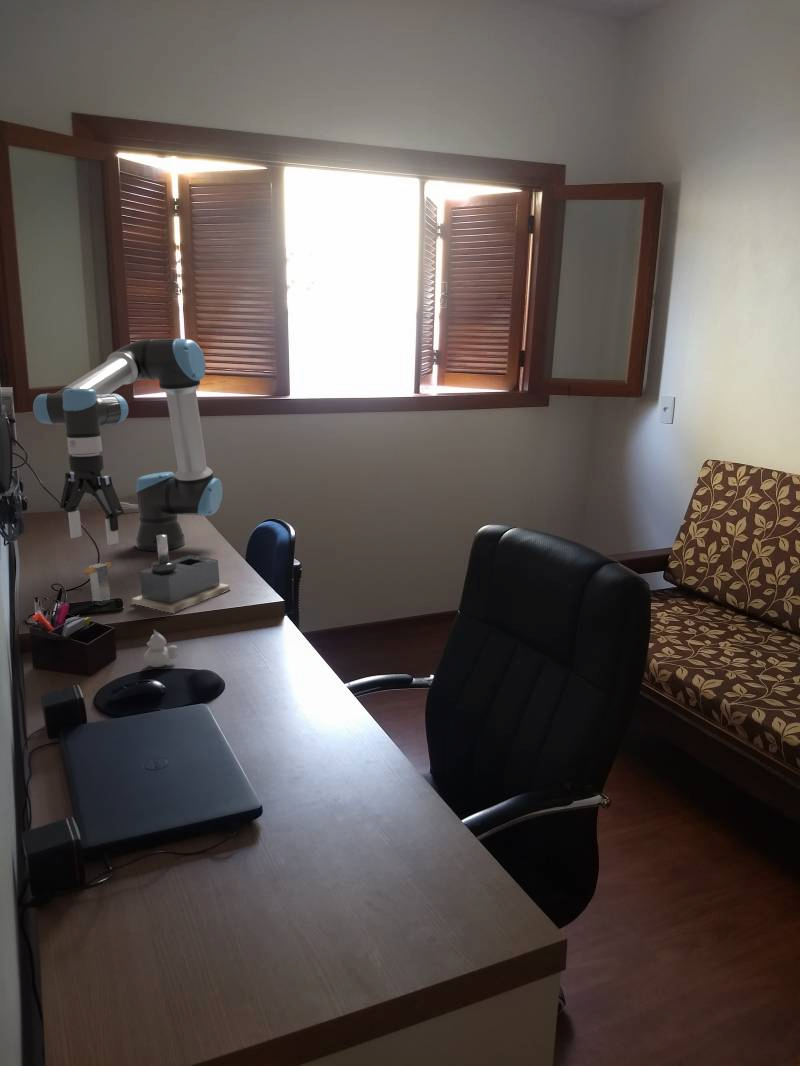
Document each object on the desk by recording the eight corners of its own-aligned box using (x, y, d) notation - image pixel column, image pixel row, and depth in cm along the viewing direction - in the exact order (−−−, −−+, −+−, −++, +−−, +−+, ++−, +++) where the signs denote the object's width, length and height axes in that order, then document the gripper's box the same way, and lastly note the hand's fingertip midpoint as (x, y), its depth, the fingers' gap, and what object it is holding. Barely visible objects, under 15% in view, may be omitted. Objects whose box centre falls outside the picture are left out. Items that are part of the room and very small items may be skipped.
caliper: (110, 516, 288) (108, 499, 287) (109, 515, 289) (107, 499, 288) (165, 510, 297) (164, 494, 296) (164, 509, 298) (163, 493, 297)
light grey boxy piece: (109, 598, 196) (105, 561, 193) (117, 600, 194) (113, 562, 192) (86, 606, 190) (81, 568, 187) (94, 608, 188) (89, 570, 186)
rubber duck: (144, 662, 157) (140, 626, 155) (177, 657, 159) (174, 621, 157) (145, 673, 152) (142, 635, 150) (180, 667, 154) (177, 630, 152)
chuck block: (191, 579, 206) (187, 521, 202) (219, 585, 201) (215, 526, 197) (142, 598, 191) (136, 536, 187) (170, 604, 186) (165, 541, 182)
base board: (191, 582, 208) (190, 577, 208) (229, 590, 201) (229, 585, 201) (132, 604, 191) (131, 598, 191) (172, 613, 185) (171, 607, 184)
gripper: (38, 452, 186) (48, 537, 191) (107, 459, 173) (116, 550, 178) (65, 449, 192) (74, 531, 197) (134, 455, 180) (141, 543, 185)
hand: (94, 540), depth 188 cm, fingers open, 13 cm apart
